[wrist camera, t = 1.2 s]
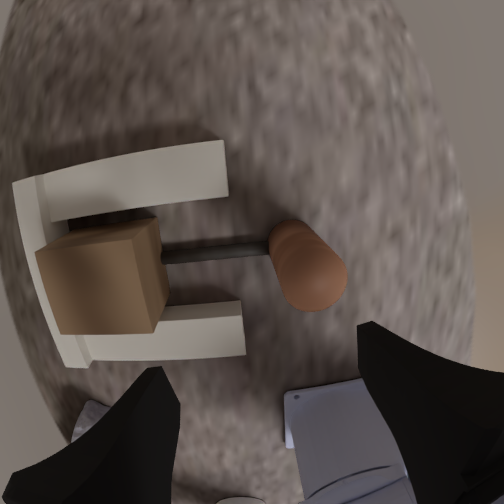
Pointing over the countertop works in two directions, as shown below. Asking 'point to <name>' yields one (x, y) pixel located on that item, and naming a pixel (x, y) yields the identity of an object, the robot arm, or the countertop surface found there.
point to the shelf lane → (121, 198)
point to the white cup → (241, 501)
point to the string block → (155, 276)
